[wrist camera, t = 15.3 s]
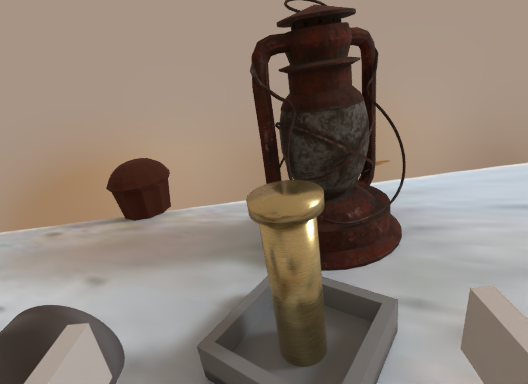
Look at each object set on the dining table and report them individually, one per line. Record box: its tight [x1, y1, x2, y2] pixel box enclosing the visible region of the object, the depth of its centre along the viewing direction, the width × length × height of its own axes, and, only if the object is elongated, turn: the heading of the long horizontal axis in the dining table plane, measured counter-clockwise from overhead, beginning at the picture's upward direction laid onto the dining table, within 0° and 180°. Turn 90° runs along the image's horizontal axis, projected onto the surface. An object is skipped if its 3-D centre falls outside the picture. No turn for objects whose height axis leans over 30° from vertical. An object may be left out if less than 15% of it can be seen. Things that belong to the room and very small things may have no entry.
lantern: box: [250, 0, 405, 270], centre depth 40 cm, size 19×19×30 cm
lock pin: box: [246, 180, 328, 367], centre depth 24 cm, size 5×5×14 cm
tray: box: [197, 276, 398, 384], centre depth 26 cm, size 12×12×4 cm
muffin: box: [107, 158, 171, 221], centre depth 61 cm, size 12×11×10 cm
